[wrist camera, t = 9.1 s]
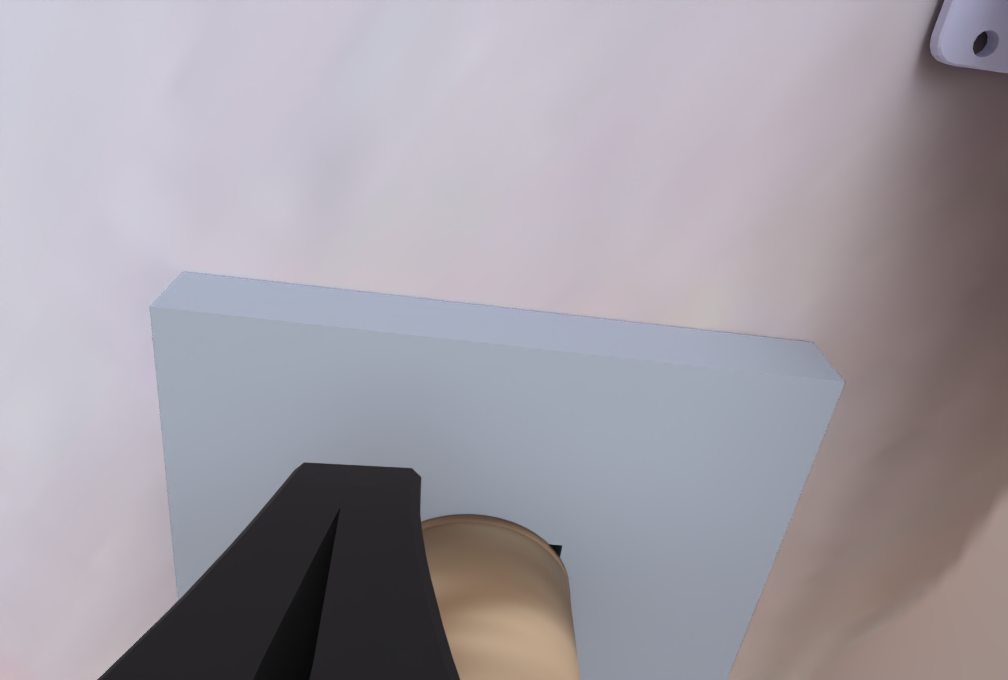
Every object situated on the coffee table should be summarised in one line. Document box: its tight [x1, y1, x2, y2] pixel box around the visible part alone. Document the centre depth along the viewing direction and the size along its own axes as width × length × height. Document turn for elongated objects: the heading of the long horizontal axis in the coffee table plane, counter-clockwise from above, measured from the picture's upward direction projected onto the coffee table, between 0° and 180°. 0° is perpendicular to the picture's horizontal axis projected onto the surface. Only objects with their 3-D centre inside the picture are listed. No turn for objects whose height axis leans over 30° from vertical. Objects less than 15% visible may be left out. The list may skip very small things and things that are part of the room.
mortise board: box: [150, 272, 845, 680], centre depth 22 cm, size 16×16×2 cm
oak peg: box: [421, 514, 580, 680], centre depth 19 cm, size 6×6×7 cm
